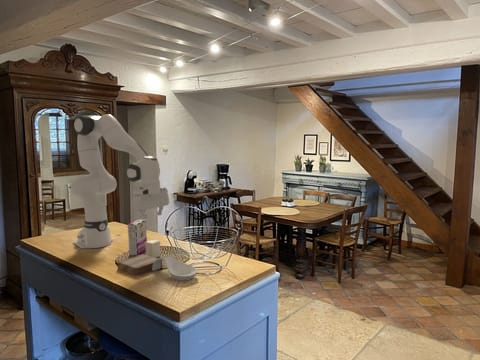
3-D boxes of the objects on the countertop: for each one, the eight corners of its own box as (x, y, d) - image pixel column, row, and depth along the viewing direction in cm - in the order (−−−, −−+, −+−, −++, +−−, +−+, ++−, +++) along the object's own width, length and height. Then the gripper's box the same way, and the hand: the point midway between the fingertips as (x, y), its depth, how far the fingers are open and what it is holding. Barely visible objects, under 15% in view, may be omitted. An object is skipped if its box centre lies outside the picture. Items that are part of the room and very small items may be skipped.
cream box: (146, 257, 181) (145, 241, 180) (153, 254, 185) (153, 239, 184) (152, 259, 178) (151, 243, 177) (160, 256, 182) (159, 241, 181)
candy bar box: (138, 248, 194) (137, 219, 192) (147, 249, 193) (146, 219, 191) (128, 255, 183) (127, 224, 182) (137, 256, 182) (136, 224, 181)
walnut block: (117, 270, 164) (117, 261, 163) (142, 261, 175) (142, 253, 175) (137, 277, 156) (136, 268, 155) (162, 267, 167) (161, 259, 166)
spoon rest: (203, 277, 155) (202, 261, 154) (183, 286, 145) (183, 269, 144) (164, 266, 168) (164, 251, 167) (144, 274, 159) (144, 258, 158)
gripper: (163, 186, 187) (164, 212, 189) (129, 191, 171) (131, 219, 173) (171, 187, 184) (172, 214, 185) (138, 192, 167) (139, 221, 169)
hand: (152, 216), depth 179 cm, fingers open, 8 cm apart
